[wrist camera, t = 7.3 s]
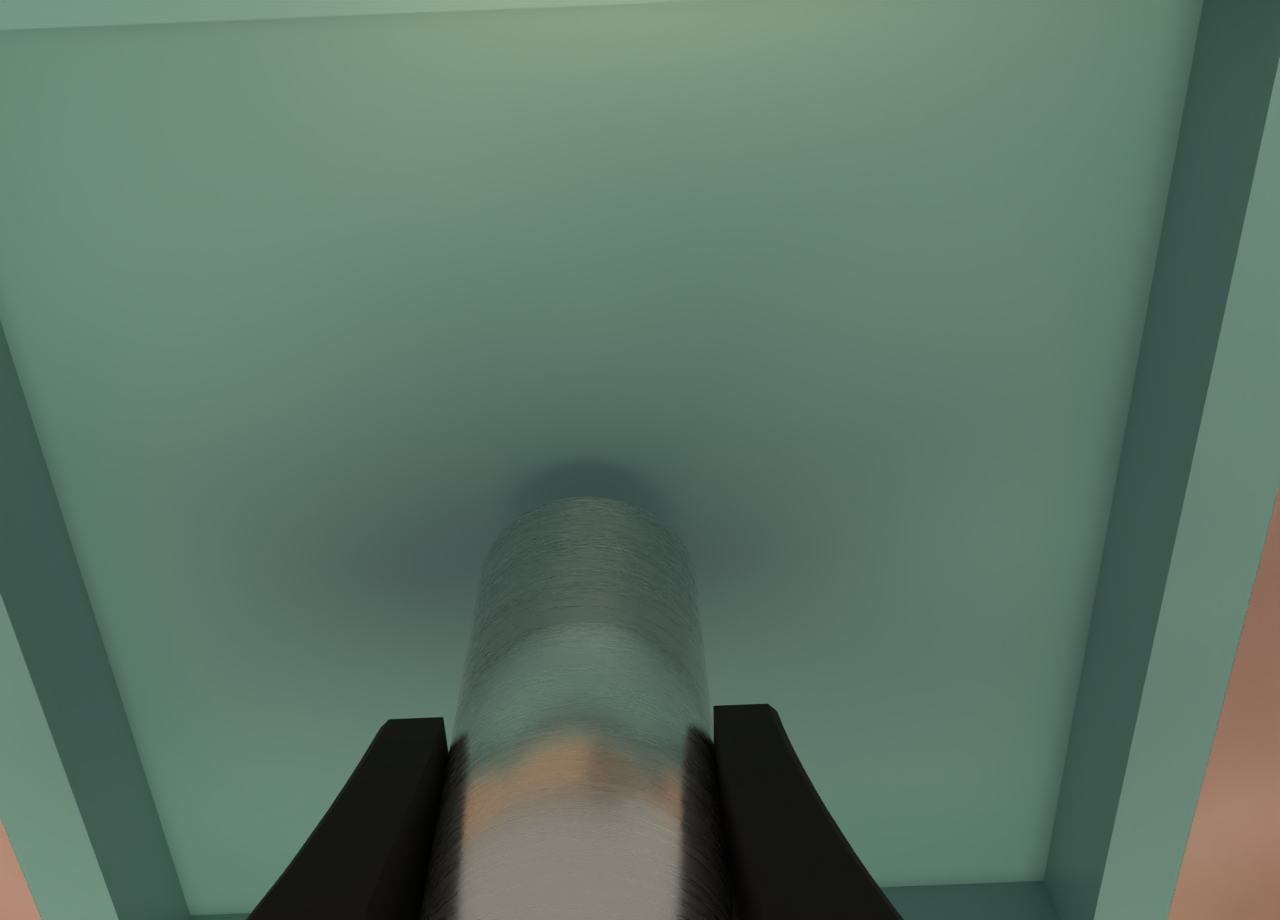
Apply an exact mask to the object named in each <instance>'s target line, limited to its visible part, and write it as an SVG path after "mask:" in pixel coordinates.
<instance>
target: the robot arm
mask: <svg viewBox="0 0 1280 920" xmlns="http://www.w3.org/2000/svg"><path fill="white" fill-rule="evenodd" d="M713 724H714V751H715V760H716V769H717V779H718V788H719V797H720V807H721V814H722V821H723V828H724V836H725V844H726V852H727V861H728V871H729V880H730V889H731V898H732V908H733V917H734V920H904V919H903V918H902V917H901V915H900V914H899V913H898V911H897V910H896V909H895V907H894V906H893V905H892V903H891V902H890V901H889V899H888V898H887V897H886V895H885V894H884V893H883V891H882V890H881V888H880V887H879V886H878V884H877V883H876V882H875V880H874V879H873V878H872V876H871V875H870V873H869V872H868V870H867V869H866V868H865V866H864V865H863V863H862V862H861V860H860V859H859V857H858V856H857V855H856V853H855V852H854V850H853V848H852V847H851V845H850V844H849V842H848V841H847V839H846V838H845V836H844V834H843V833H842V831H841V830H840V828H839V827H838V825H837V824H836V822H835V820H834V819H833V817H832V816H831V814H830V813H829V811H828V809H827V808H826V806H825V804H824V803H823V801H822V799H821V798H820V796H819V794H818V793H817V791H816V789H815V787H814V786H813V784H812V782H811V780H810V778H809V777H808V775H807V773H806V771H805V769H804V768H803V766H802V764H801V762H800V760H799V758H798V756H797V754H796V752H795V750H794V748H793V746H792V744H791V742H790V740H789V738H788V736H787V734H786V731H785V729H784V727H783V725H782V722H781V720H780V717H779V714H778V712H777V711H776V710H775V709H774V708H773V707H772V706H770V705H769V704H768V703H767V704H743V705H719V706H713ZM448 754H449V752H448V745H447V738H446V732H445V725H444V719H443V717H428V718H404V719H389V720H388V721H387V722H386V723H385V724H384V725H382V726H381V727H380V729H379V731H378V732H377V734H376V736H375V737H374V739H373V741H372V742H371V744H370V746H369V747H368V749H367V751H366V752H365V754H364V755H363V757H362V759H361V760H360V762H359V763H358V765H357V767H356V768H355V770H354V771H353V773H352V774H351V776H350V778H349V779H348V781H347V782H346V784H345V785H344V787H343V788H342V790H341V791H340V793H339V794H338V796H337V797H336V799H335V800H334V802H333V803H332V805H331V806H330V808H329V809H328V811H327V812H326V814H325V815H324V816H323V818H322V819H321V821H320V822H319V823H318V825H317V826H316V828H315V829H314V830H313V832H312V833H311V835H310V836H309V837H308V839H307V840H306V842H305V843H304V844H303V846H302V847H301V849H300V850H299V851H298V853H297V854H296V856H295V857H294V858H293V860H292V861H291V863H290V864H289V865H288V867H287V868H286V869H285V871H284V872H283V873H282V875H281V876H280V877H279V878H278V880H277V881H276V882H275V883H274V885H273V886H272V887H271V888H270V890H269V891H268V892H267V893H266V895H265V896H264V897H263V898H262V900H261V901H260V902H259V904H258V905H257V906H256V907H255V909H254V910H253V911H252V912H251V914H250V915H249V916H248V917H247V919H246V920H419V918H420V912H421V906H422V901H423V895H424V889H425V884H426V878H427V872H428V867H429V861H430V855H431V850H432V844H433V838H434V833H435V827H436V821H437V816H438V810H439V805H440V799H441V793H442V788H443V782H444V776H445V771H446V765H447V759H448Z"/></svg>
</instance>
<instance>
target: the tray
mask: <svg viewBox="0 0 1280 920" xmlns="http://www.w3.org/2000/svg"><path fill="white" fill-rule="evenodd" d="M1279 485H1280V0H0V818H1V821H2V823H3V826H4V828H5V831H6V833H7V835H8V838H9V840H10V843H11V845H12V848H13V850H14V853H15V855H16V857H17V860H18V862H19V865H20V867H21V870H22V872H23V875H24V877H25V880H26V882H27V884H28V887H29V889H30V892H31V894H32V897H33V899H34V902H35V904H36V906H37V909H38V911H39V914H40V916H41V919H42V920H246V919H247V917H248V916H249V915H250V914H251V912H252V911H253V910H254V909H255V907H256V906H257V905H258V904H259V902H260V901H261V900H262V898H263V897H264V896H265V895H266V893H267V892H268V891H269V890H270V888H271V887H272V886H273V885H274V883H275V882H276V881H277V880H278V878H279V877H280V876H281V875H282V873H283V872H284V871H285V869H286V868H287V867H288V865H289V864H290V863H291V861H292V860H293V858H294V857H295V856H296V854H297V853H298V851H299V850H300V849H301V847H302V846H303V844H304V843H305V842H306V840H307V839H308V837H309V836H310V835H311V833H312V832H313V830H314V829H315V828H316V826H317V825H318V823H319V822H320V821H321V819H322V818H323V816H324V815H325V814H326V812H327V811H328V809H329V808H330V806H331V805H332V803H333V802H334V800H335V799H336V797H337V796H338V794H339V793H340V791H341V790H342V788H343V787H344V785H345V784H346V782H347V781H348V779H349V778H350V776H351V774H352V773H353V771H354V770H355V768H356V767H357V765H358V763H359V762H360V760H361V759H362V757H363V755H364V754H365V752H366V751H367V749H368V747H369V746H370V744H371V742H372V741H373V739H374V737H375V736H376V734H377V732H378V731H379V729H380V727H381V726H382V725H384V724H385V723H386V722H387V721H388V720H389V719H404V718H428V717H443V719H444V725H445V732H446V738H447V745H448V752H449V748H450V742H451V737H452V731H453V725H454V720H455V714H456V708H457V703H458V697H459V692H460V686H461V680H462V675H463V669H464V663H465V658H466V652H467V646H468V641H469V635H470V629H471V624H472V618H473V612H474V607H475V601H476V595H477V590H478V584H479V579H480V573H481V569H482V564H483V562H484V559H485V557H486V554H487V552H488V550H489V549H490V547H491V545H492V543H493V542H494V540H495V539H496V538H497V537H498V535H499V534H500V533H501V532H502V531H503V530H504V529H505V528H506V527H507V526H508V525H509V524H510V523H511V522H513V521H514V520H516V519H517V518H518V517H520V516H521V515H523V514H525V513H526V512H528V511H530V510H532V509H534V508H536V507H539V506H541V505H544V504H547V503H550V502H554V501H557V500H561V499H568V498H575V497H599V498H608V499H613V500H618V501H622V502H625V503H628V504H631V505H634V506H637V507H639V508H641V509H643V510H645V511H647V512H649V513H651V514H652V515H654V516H656V517H657V518H659V519H660V520H661V521H663V522H664V523H665V524H666V525H667V526H669V527H670V528H671V529H672V530H673V531H674V532H675V533H676V535H677V536H678V537H679V538H680V539H681V541H682V542H683V544H684V545H685V547H686V548H687V550H688V552H689V554H690V556H691V558H692V561H693V564H694V567H695V570H696V577H697V584H698V593H699V603H700V612H701V621H702V630H703V640H704V649H705V658H706V667H707V677H708V686H709V695H710V704H711V713H712V723H713V706H719V705H743V704H767V703H768V704H769V705H770V706H772V707H773V708H774V709H775V710H776V711H777V712H778V714H779V717H780V720H781V722H782V725H783V727H784V729H785V731H786V734H787V736H788V738H789V740H790V742H791V744H792V746H793V748H794V750H795V752H796V754H797V756H798V758H799V760H800V762H801V764H802V766H803V768H804V769H805V771H806V773H807V775H808V777H809V778H810V780H811V782H812V784H813V786H814V787H815V789H816V791H817V793H818V794H819V796H820V798H821V799H822V801H823V803H824V804H825V806H826V808H827V809H828V811H829V813H830V814H831V816H832V817H833V819H834V820H835V822H836V824H837V825H838V827H839V828H840V830H841V831H842V833H843V834H844V836H845V838H846V839H847V841H848V842H849V844H850V845H851V847H852V848H853V850H854V852H855V853H856V855H857V856H858V857H859V859H860V860H861V862H862V863H863V865H864V866H865V868H866V869H867V870H868V872H869V873H870V875H871V876H872V878H873V879H874V880H875V882H876V883H877V884H878V886H879V887H880V888H881V890H882V891H883V893H884V894H885V895H886V897H887V898H888V899H889V901H890V902H891V903H892V905H893V906H894V907H895V909H896V910H897V911H898V913H899V914H900V915H901V917H902V918H903V919H904V920H1167V918H1168V914H1169V910H1170V906H1171V902H1172V898H1173V894H1174V891H1175V887H1176V883H1177V879H1178V875H1179V871H1180V867H1181V863H1182V860H1183V856H1184V852H1185V848H1186V844H1187V840H1188V836H1189V833H1190V829H1191V825H1192V821H1193V817H1194V813H1195V809H1196V806H1197V802H1198V798H1199V794H1200V790H1201V786H1202V782H1203V779H1204V775H1205V771H1206V767H1207V763H1208V759H1209V755H1210V751H1211V748H1212V744H1213V740H1214V736H1215V732H1216V728H1217V724H1218V721H1219V717H1220V713H1221V709H1222V705H1223V701H1224V697H1225V694H1226V690H1227V686H1228V682H1229V678H1230V674H1231V670H1232V667H1233V663H1234V659H1235V655H1236V651H1237V647H1238V643H1239V639H1240V636H1241V632H1242V628H1243V624H1244V620H1245V616H1246V612H1247V609H1248V605H1249V601H1250V597H1251V593H1252V589H1253V585H1254V582H1255V578H1256V574H1257V570H1258V566H1259V562H1260V558H1261V555H1262V551H1263V547H1264V543H1265V539H1266V535H1267V531H1268V528H1269V524H1270V520H1271V516H1272V512H1273V508H1274V504H1275V500H1276V497H1277V493H1278V489H1279ZM713 732H714V724H713Z"/></svg>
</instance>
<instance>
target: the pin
mask: <svg viewBox="0 0 1280 920" xmlns="http://www.w3.org/2000/svg"><path fill="white" fill-rule="evenodd" d="M419 920H734V917H733V908H732V898H731V889H730V880H729V871H728V861H727V852H726V844H725V836H724V828H723V821H722V814H721V807H720V797H719V788H718V779H717V769H716V760H715V751H714V732H713V723H712V713H711V704H710V695H709V686H708V677H707V667H706V658H705V649H704V640H703V630H702V621H701V612H700V603H699V593H698V584H697V577H696V570H695V567H694V564H693V561H692V558H691V556H690V554H689V552H688V550H687V548H686V547H685V545H684V544H683V542H682V541H681V539H680V538H679V537H678V536H677V535H676V533H675V532H674V531H673V530H672V529H671V528H670V527H669V526H667V525H666V524H665V523H664V522H663V521H661V520H660V519H659V518H657V517H656V516H654V515H652V514H651V513H649V512H647V511H645V510H643V509H641V508H639V507H637V506H634V505H631V504H628V503H625V502H622V501H618V500H613V499H608V498H599V497H575V498H568V499H561V500H557V501H554V502H550V503H547V504H544V505H541V506H539V507H536V508H534V509H532V510H530V511H528V512H526V513H525V514H523V515H521V516H520V517H518V518H517V519H516V520H514V521H513V522H511V523H510V524H509V525H508V526H507V527H506V528H505V529H504V530H503V531H502V532H501V533H500V534H499V535H498V537H497V538H496V539H495V540H494V542H493V543H492V545H491V547H490V549H489V550H488V552H487V554H486V557H485V559H484V562H483V564H482V569H481V573H480V579H479V584H478V590H477V595H476V601H475V607H474V612H473V618H472V624H471V629H470V635H469V641H468V646H467V652H466V658H465V663H464V669H463V675H462V680H461V686H460V692H459V697H458V703H457V708H456V714H455V720H454V725H453V731H452V737H451V742H450V748H449V754H448V759H447V765H446V771H445V776H444V782H443V788H442V793H441V799H440V805H439V810H438V816H437V821H436V827H435V833H434V838H433V844H432V850H431V855H430V861H429V867H428V872H427V878H426V884H425V889H424V895H423V901H422V906H421V912H420V918H419Z"/></svg>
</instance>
